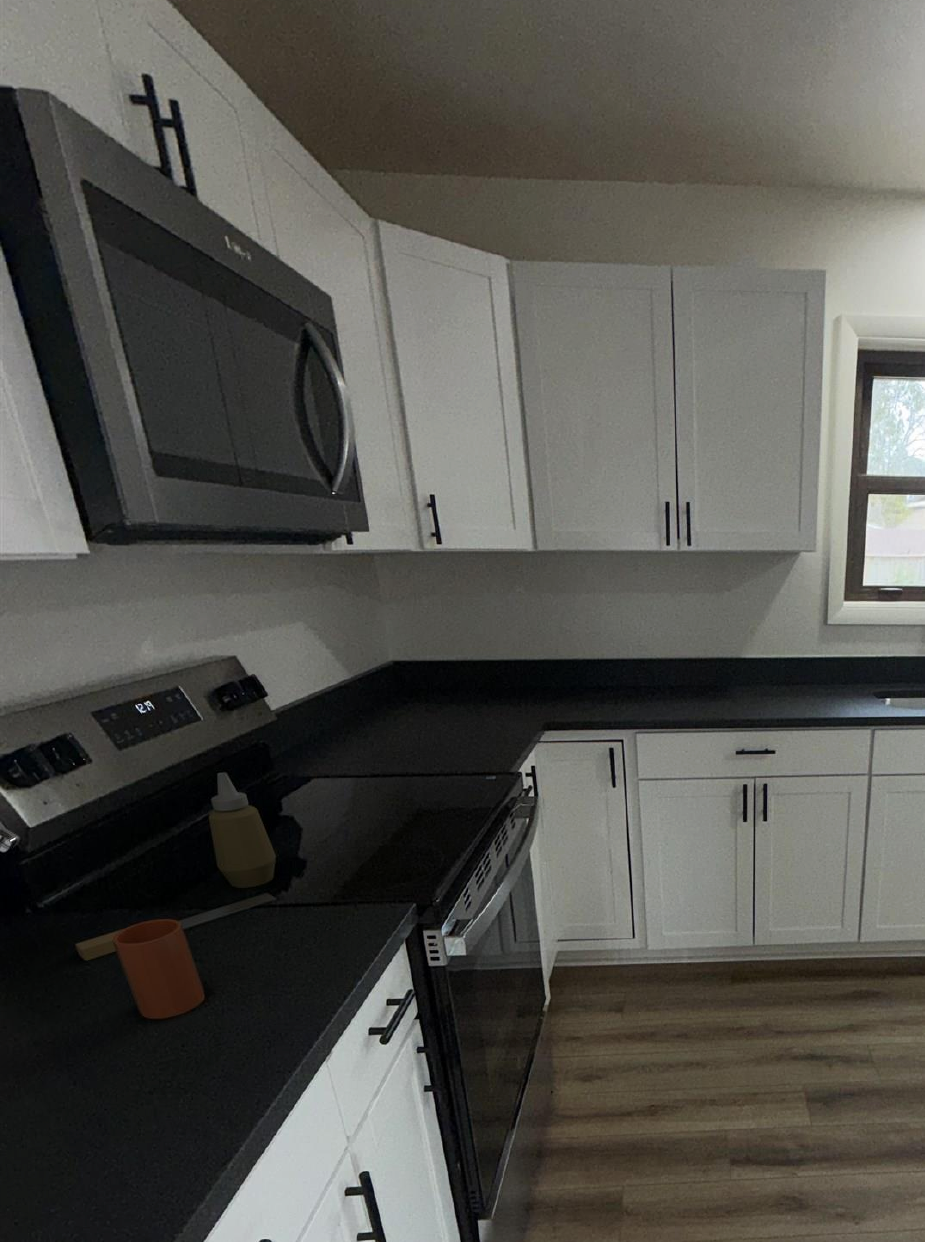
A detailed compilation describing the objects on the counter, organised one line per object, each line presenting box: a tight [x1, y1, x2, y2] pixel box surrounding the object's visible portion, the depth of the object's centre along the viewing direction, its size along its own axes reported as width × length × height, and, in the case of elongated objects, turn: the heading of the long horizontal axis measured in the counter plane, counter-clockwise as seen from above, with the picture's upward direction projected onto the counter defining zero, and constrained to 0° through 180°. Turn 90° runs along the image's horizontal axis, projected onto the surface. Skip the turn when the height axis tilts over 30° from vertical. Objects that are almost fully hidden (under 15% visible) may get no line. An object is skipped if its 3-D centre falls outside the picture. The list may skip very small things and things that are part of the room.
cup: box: [112, 918, 206, 1020], centre depth 92 cm, size 6×6×10 cm
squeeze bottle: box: [208, 771, 277, 889], centre depth 123 cm, size 8×8×18 cm
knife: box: [75, 892, 277, 962], centre depth 113 cm, size 24×3×2 cm, turn 142°
